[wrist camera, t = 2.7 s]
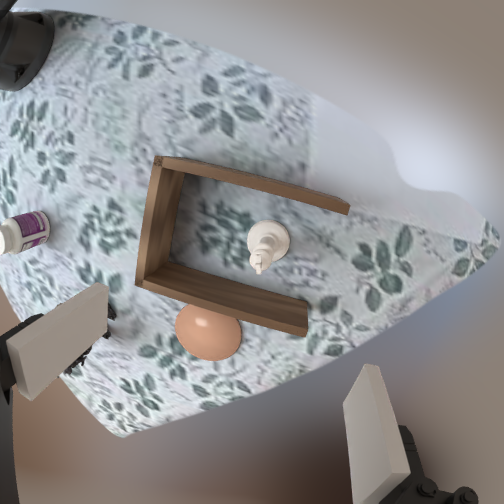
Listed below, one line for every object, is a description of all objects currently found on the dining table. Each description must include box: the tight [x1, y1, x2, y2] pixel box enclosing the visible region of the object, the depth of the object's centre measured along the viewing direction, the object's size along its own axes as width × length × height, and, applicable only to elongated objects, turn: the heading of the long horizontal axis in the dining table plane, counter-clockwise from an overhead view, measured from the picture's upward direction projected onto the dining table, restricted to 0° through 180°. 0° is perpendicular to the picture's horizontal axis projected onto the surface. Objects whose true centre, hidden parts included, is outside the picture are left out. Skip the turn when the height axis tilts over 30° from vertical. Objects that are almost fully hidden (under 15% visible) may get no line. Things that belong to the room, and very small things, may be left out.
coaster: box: [175, 304, 241, 361], centre depth 40 cm, size 9×9×1 cm
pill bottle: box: [0, 211, 50, 255], centre depth 36 cm, size 5×5×10 cm
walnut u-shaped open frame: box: [135, 155, 350, 337], centre depth 33 cm, size 14×19×7 cm
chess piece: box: [247, 220, 290, 274], centre depth 31 cm, size 5×5×10 cm
